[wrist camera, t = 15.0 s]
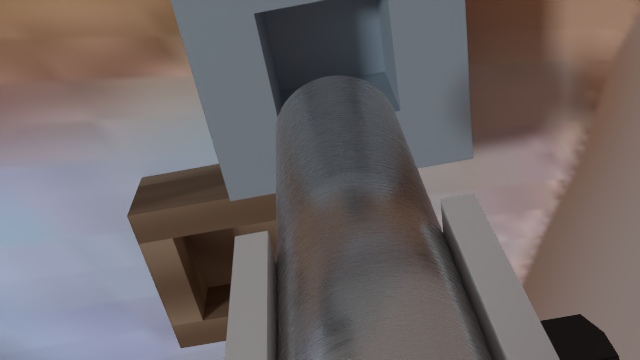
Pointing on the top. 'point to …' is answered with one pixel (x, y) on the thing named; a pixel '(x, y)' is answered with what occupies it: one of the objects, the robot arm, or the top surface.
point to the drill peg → (361, 237)
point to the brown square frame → (195, 245)
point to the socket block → (325, 72)
